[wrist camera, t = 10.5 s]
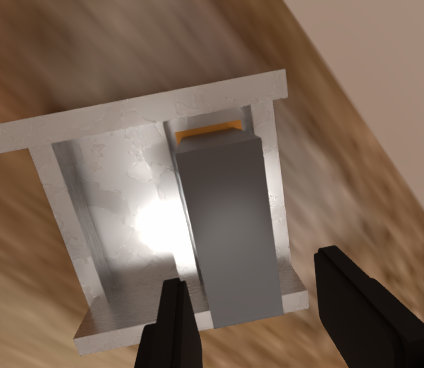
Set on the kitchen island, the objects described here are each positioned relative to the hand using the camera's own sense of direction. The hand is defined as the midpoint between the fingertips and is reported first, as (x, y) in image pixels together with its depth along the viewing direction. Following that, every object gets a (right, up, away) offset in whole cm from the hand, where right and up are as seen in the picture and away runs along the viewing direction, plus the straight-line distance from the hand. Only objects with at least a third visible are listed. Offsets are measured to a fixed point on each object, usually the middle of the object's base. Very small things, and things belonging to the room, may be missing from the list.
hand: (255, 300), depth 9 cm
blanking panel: (-1, +3, +12) cm, 12 cm away
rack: (-5, +3, +13) cm, 14 cm away
